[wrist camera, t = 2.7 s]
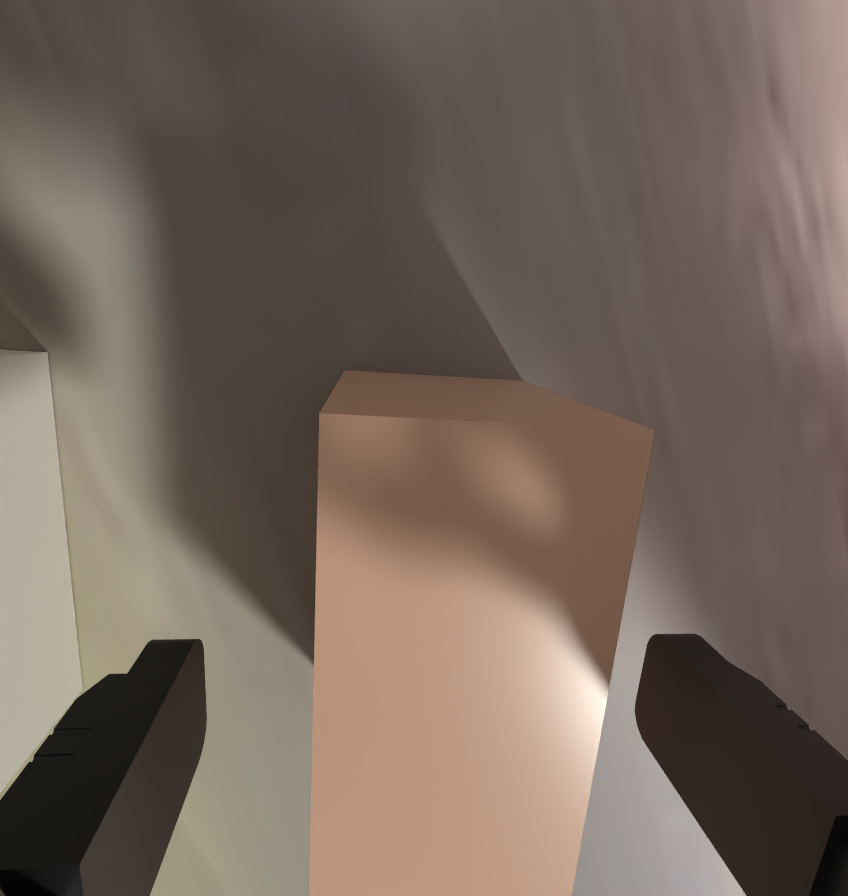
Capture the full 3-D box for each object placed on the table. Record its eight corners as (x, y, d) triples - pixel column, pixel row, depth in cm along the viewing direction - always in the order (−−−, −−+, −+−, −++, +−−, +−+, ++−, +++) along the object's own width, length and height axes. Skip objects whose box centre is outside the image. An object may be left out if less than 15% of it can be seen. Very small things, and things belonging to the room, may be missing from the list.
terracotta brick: (521, 380, 14) (655, 430, 8) (486, 681, 17) (565, 925, 10) (345, 369, 14) (319, 413, 7) (334, 682, 16) (308, 942, 9)
